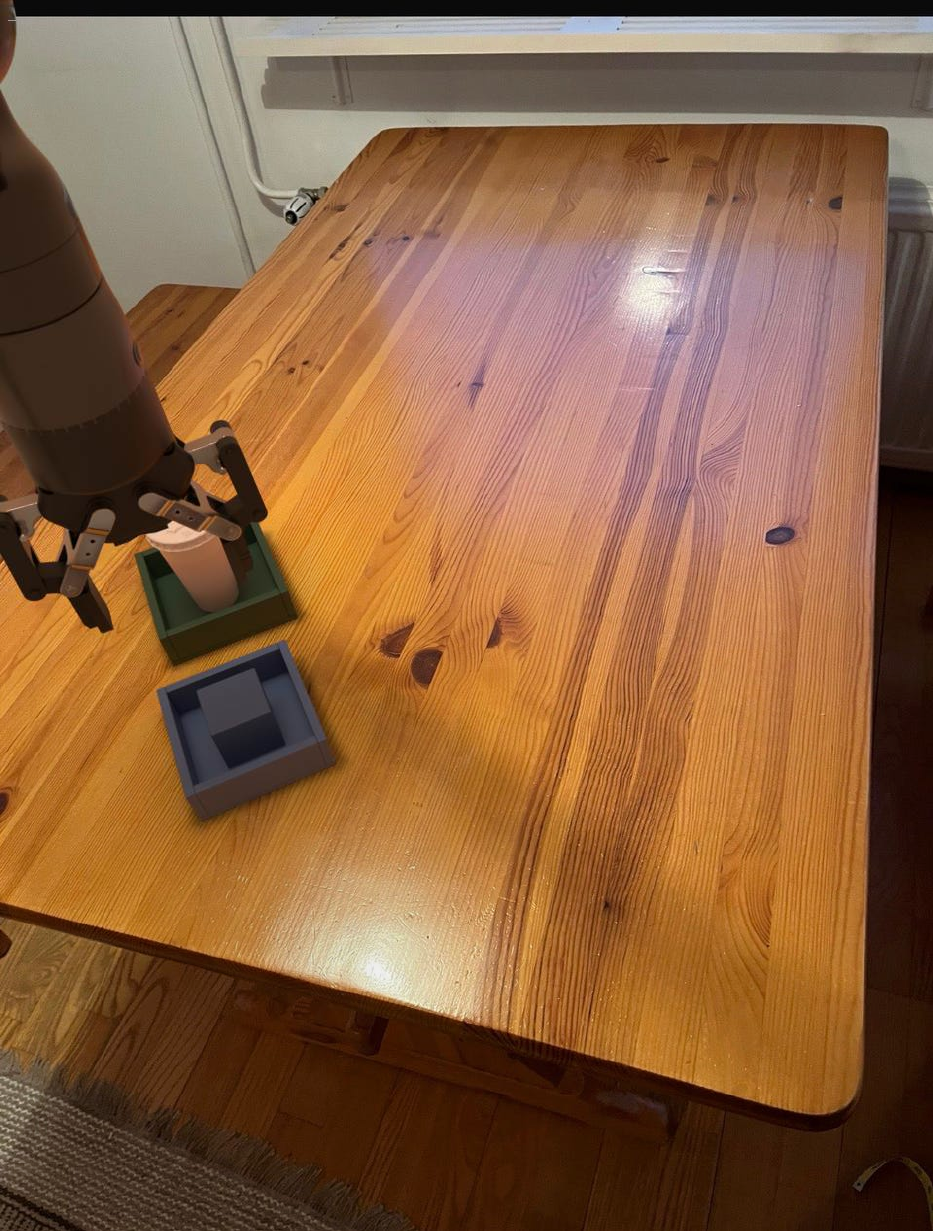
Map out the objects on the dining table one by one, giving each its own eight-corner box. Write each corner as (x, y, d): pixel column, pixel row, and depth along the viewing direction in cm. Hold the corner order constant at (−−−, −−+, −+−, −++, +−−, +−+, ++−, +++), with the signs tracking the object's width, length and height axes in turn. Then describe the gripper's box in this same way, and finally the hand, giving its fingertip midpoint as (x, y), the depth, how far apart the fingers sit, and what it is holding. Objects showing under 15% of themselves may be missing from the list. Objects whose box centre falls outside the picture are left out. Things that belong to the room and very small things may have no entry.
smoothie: (265, 573, 82) (218, 449, 71) (237, 628, 78) (183, 505, 67) (199, 565, 83) (143, 442, 73) (168, 619, 79) (105, 498, 69)
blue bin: (201, 821, 67) (185, 797, 64) (171, 715, 73) (155, 689, 71) (336, 764, 69) (326, 738, 66) (295, 665, 75) (285, 638, 73)
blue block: (228, 769, 69) (210, 735, 66) (214, 724, 72) (195, 690, 68) (286, 745, 70) (270, 711, 67) (269, 701, 73) (254, 667, 69)
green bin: (173, 666, 77) (158, 639, 74) (147, 580, 83) (133, 553, 81) (298, 617, 79) (288, 590, 76) (263, 538, 86) (253, 510, 83)
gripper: (190, 301, 50) (266, 523, 62) (-86, 383, 47) (51, 599, 59) (224, 372, 45) (299, 597, 57) (-81, 468, 42) (67, 683, 54)
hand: (173, 598), depth 58 cm, fingers open, 8 cm apart
